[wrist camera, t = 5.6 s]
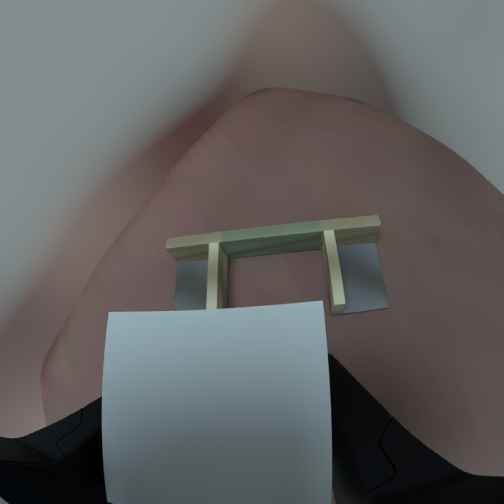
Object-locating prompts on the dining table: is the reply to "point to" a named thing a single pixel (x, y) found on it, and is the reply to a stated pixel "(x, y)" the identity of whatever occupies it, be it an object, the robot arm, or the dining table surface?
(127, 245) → the dining table surface
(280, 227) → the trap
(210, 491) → the grey block
